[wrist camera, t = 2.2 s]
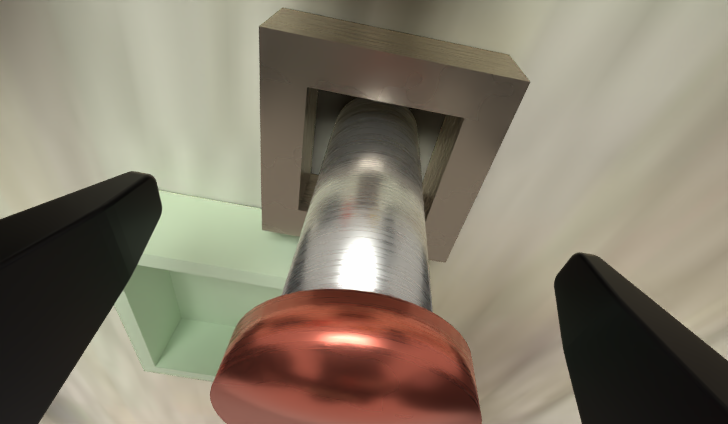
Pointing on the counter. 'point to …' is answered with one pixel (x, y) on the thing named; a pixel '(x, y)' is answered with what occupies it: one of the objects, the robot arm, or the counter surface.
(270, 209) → the pin socket
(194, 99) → the counter surface
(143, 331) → the tray
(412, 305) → the pin
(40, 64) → the counter surface
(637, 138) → the counter surface
